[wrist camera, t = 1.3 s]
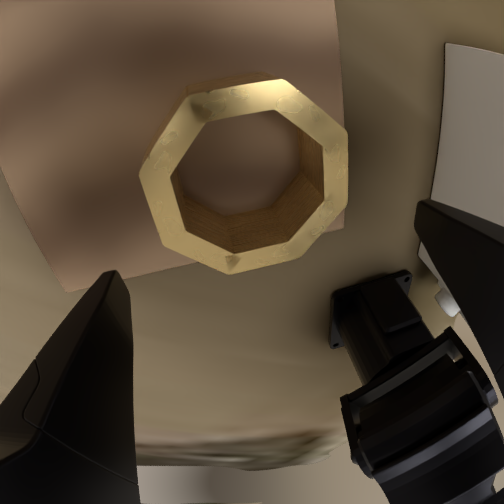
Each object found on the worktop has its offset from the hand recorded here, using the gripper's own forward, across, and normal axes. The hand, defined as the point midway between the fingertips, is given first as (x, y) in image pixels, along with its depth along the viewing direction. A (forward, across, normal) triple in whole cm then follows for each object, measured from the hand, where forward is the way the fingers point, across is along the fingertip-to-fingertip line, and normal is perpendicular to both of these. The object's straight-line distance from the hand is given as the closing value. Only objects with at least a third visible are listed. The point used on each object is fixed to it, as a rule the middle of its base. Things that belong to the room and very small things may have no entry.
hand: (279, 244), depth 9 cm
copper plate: (+7, +3, -5) cm, 9 cm away
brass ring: (+6, 0, 0) cm, 6 cm away
